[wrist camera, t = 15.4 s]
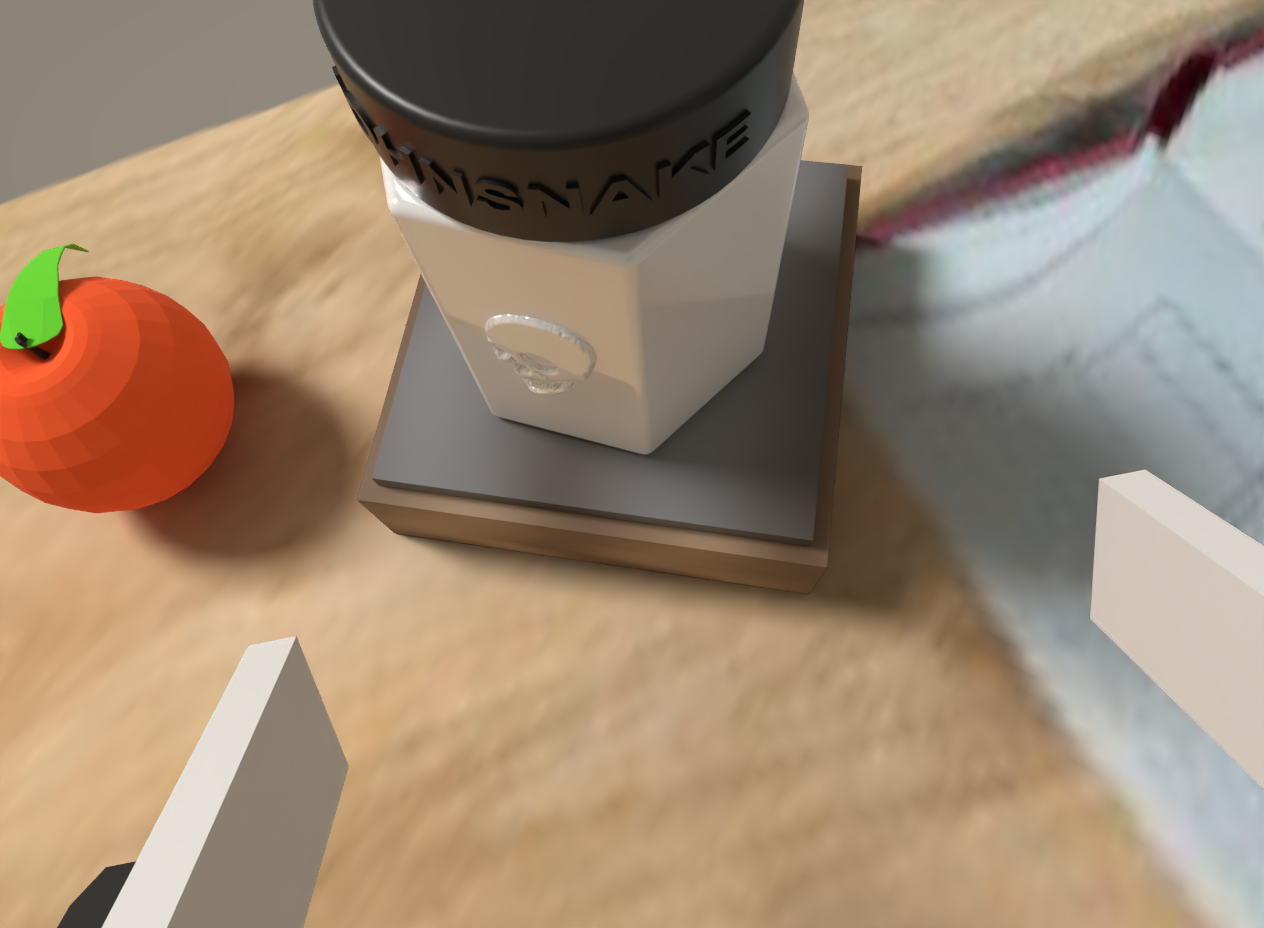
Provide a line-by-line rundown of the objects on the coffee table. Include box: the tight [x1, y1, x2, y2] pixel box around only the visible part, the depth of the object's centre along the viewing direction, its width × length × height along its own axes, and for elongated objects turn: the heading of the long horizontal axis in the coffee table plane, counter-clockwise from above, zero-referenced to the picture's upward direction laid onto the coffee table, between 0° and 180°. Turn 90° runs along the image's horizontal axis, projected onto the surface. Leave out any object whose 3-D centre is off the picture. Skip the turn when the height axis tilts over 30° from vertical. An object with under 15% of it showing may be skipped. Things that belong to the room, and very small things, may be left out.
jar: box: [313, 0, 809, 455], centre depth 19 cm, size 9×8×12 cm
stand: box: [357, 160, 862, 594], centre depth 27 cm, size 13×13×4 cm
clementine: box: [0, 244, 235, 513], centre depth 26 cm, size 8×7×7 cm
